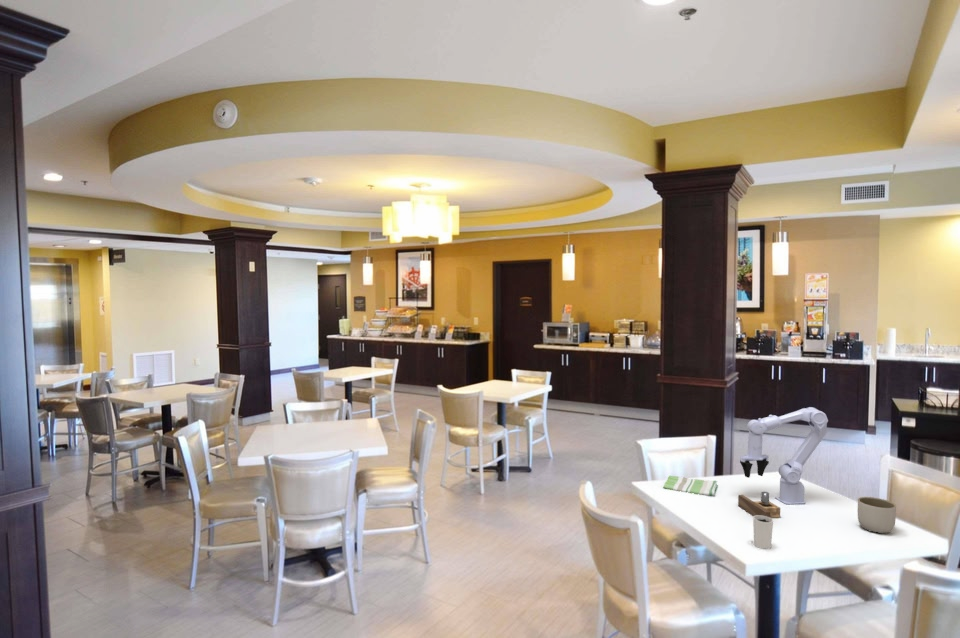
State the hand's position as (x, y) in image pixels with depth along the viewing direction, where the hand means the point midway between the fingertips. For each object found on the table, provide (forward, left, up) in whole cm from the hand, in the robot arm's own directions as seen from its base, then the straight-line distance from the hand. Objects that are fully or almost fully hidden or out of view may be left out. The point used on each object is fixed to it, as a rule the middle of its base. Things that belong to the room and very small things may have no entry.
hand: (753, 476), depth 256 cm
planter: (-29, +36, -11) cm, 48 cm away
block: (+6, +18, -10) cm, 22 cm away
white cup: (+25, +46, -11) cm, 53 cm away
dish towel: (+21, -17, -11) cm, 29 cm away
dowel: (+6, +18, -9) cm, 21 cm away
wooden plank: (+11, +18, -10) cm, 24 cm away
